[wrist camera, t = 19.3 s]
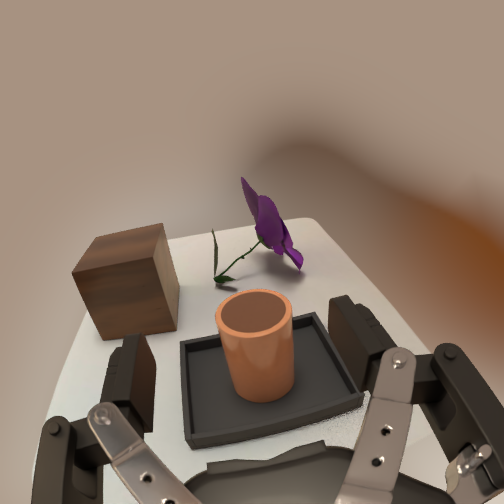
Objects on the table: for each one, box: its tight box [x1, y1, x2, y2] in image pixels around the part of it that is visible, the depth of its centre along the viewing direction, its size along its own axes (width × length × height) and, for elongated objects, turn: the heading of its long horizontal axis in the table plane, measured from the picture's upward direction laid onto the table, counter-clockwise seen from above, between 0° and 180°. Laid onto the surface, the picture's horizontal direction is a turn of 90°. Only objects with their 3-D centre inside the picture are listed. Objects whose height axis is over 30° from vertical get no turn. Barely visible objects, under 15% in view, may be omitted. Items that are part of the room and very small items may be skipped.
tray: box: [180, 312, 365, 449], centre depth 29 cm, size 16×13×2 cm
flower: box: [212, 177, 303, 283], centre depth 46 cm, size 15×15×14 cm
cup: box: [215, 289, 295, 403], centre depth 27 cm, size 6×6×9 cm
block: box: [72, 223, 179, 340], centre depth 39 cm, size 11×11×11 cm
